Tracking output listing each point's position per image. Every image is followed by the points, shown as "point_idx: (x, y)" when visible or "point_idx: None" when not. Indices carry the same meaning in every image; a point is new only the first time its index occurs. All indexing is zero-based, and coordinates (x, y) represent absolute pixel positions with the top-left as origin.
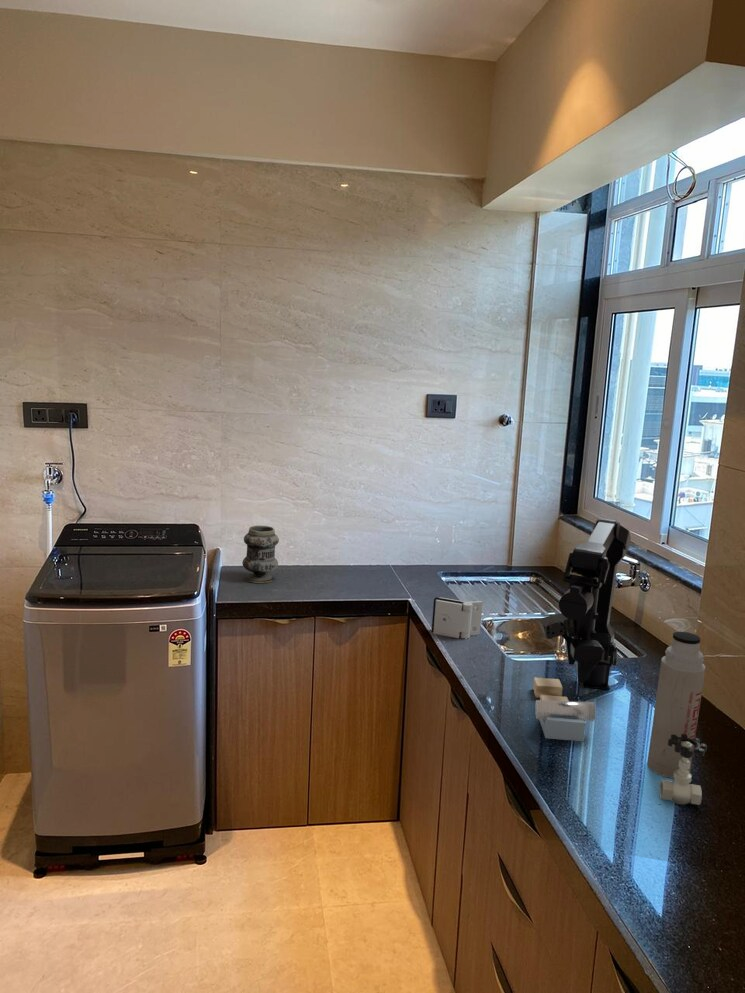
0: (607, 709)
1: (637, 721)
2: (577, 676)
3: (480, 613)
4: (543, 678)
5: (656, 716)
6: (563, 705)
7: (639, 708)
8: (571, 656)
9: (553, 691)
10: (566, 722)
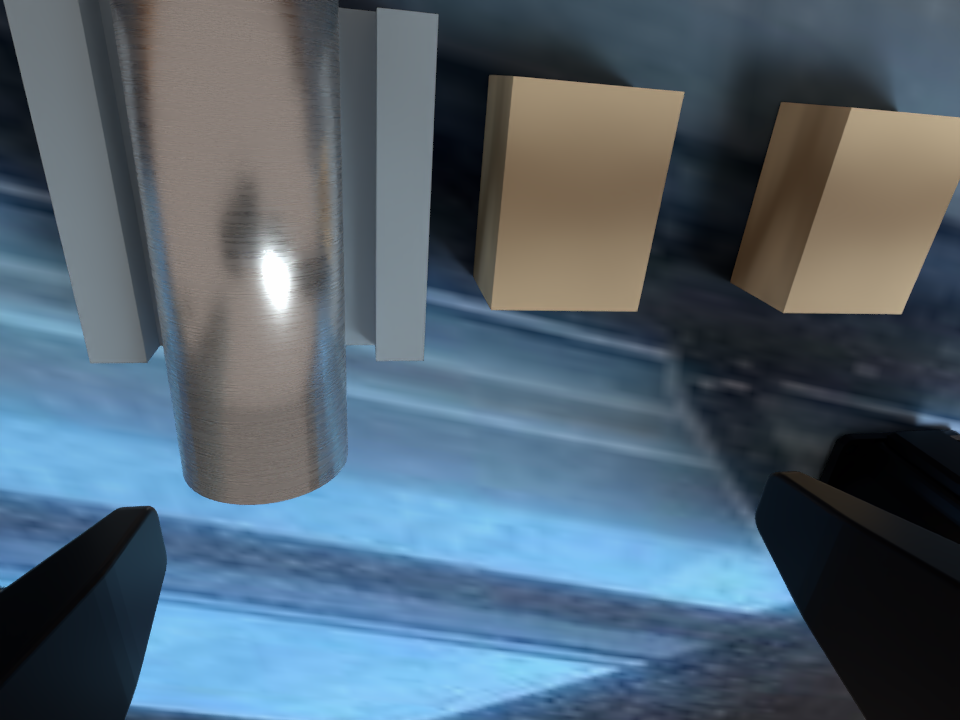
0: (594, 502)
1: (473, 604)
2: (55, 572)
3: None
4: (945, 198)
5: None
6: (170, 205)
7: (603, 626)
8: (856, 584)
9: (778, 240)
10: (52, 190)
